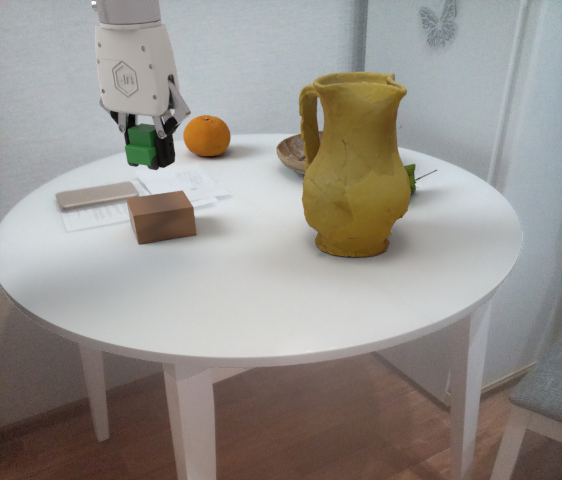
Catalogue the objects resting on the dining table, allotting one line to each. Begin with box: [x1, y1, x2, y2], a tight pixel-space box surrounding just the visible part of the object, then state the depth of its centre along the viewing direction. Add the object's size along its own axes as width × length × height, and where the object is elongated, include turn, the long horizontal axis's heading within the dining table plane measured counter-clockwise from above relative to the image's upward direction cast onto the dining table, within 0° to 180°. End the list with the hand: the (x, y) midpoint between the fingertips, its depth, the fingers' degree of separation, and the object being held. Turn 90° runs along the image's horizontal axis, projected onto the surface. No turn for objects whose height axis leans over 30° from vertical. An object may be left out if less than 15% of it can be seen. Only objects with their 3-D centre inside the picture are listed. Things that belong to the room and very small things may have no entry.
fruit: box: [183, 114, 232, 157], centre depth 127 cm, size 10×10×8 cm
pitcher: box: [298, 71, 412, 258], centre depth 87 cm, size 17×19×25 cm
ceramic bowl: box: [275, 130, 323, 176], centre depth 119 cm, size 23×24×5 cm
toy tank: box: [403, 163, 438, 194], centre depth 107 cm, size 7×19×10 cm
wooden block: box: [125, 190, 197, 245], centre depth 96 cm, size 10×8×5 cm
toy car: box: [124, 123, 176, 171], centre depth 79 cm, size 6×4×5 cm
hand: (152, 161), depth 80 cm, fingers closed on toy car, 4 cm apart
